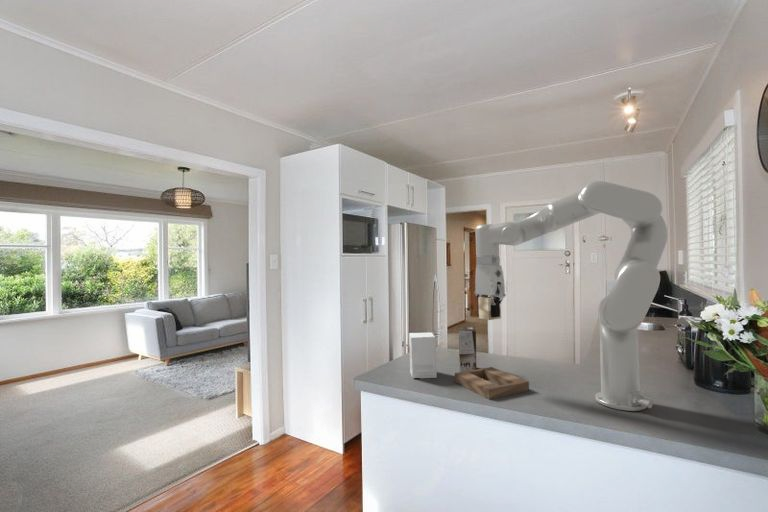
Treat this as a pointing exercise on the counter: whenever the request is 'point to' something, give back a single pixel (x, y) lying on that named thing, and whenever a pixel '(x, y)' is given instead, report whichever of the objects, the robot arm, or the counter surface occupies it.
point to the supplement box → (422, 355)
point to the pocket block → (487, 389)
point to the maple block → (486, 308)
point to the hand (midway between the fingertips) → (489, 315)
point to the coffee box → (467, 348)
